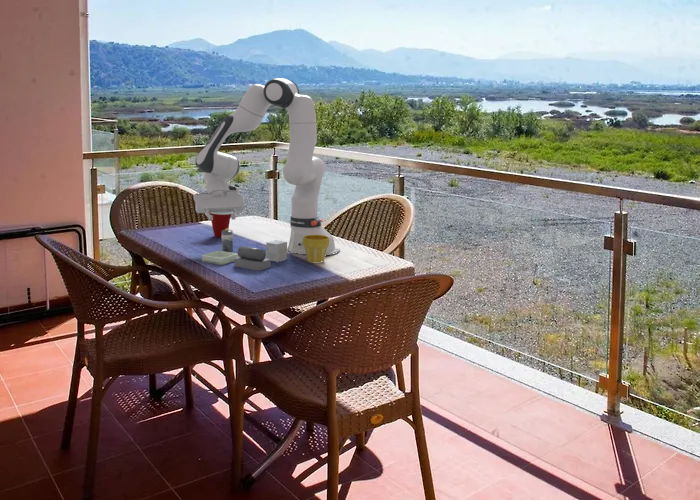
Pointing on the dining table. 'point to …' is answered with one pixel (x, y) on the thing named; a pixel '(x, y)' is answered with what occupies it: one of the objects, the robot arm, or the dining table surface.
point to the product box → (276, 250)
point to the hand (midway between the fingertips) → (222, 219)
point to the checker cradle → (252, 258)
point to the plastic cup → (220, 222)
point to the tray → (219, 257)
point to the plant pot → (315, 247)
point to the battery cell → (227, 240)
